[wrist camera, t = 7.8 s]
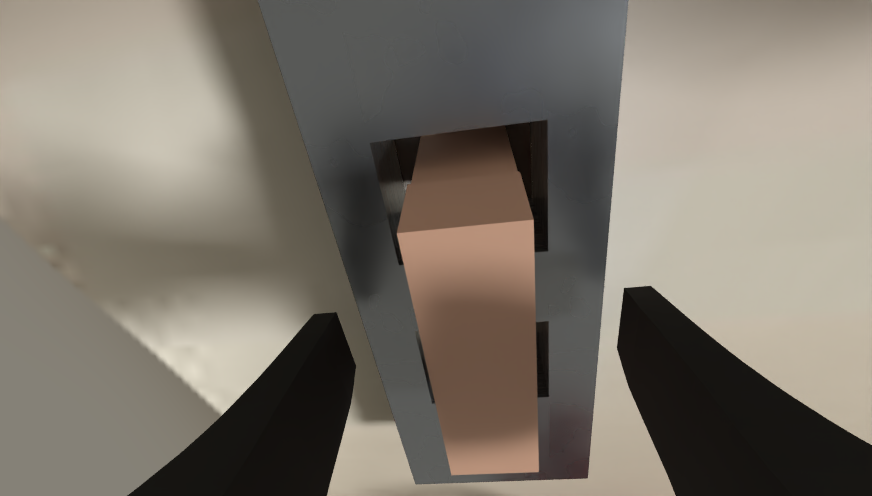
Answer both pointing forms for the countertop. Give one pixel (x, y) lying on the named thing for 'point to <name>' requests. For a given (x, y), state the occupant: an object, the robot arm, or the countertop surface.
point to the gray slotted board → (457, 111)
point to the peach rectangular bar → (475, 297)
